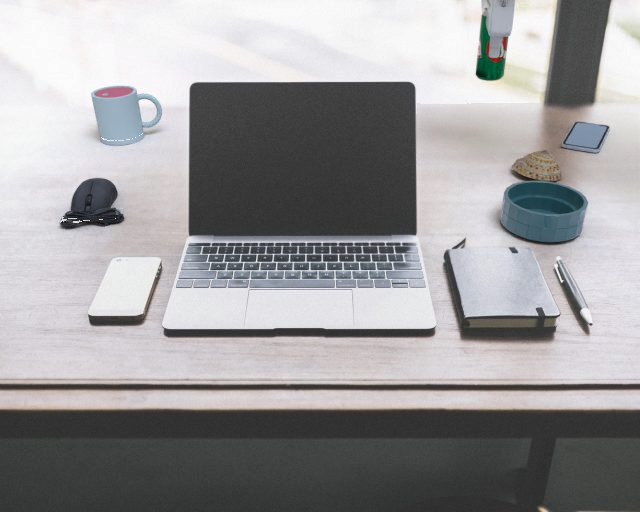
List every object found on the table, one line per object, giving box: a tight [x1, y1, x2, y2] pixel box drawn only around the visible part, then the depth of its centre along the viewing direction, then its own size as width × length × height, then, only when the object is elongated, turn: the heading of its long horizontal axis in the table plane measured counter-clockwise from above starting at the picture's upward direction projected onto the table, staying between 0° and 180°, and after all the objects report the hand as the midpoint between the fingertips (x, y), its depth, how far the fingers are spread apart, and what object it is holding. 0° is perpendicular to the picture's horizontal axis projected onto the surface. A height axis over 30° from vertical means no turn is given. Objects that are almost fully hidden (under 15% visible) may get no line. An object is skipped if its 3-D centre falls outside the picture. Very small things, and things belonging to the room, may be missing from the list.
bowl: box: [499, 180, 589, 244], centre depth 96 cm, size 12×12×5 cm
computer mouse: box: [59, 177, 125, 228], centre depth 104 cm, size 10×15×4 cm
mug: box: [90, 85, 163, 146], centre depth 132 cm, size 14×9×10 cm
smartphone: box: [560, 121, 611, 154], centre depth 129 cm, size 7×1×15 cm
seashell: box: [511, 149, 563, 182], centre depth 113 cm, size 8×6×8 cm
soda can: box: [474, 8, 510, 82], centre depth 111 cm, size 5×5×12 cm
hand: (492, 52), depth 112 cm, fingers closed on soda can, 5 cm apart
